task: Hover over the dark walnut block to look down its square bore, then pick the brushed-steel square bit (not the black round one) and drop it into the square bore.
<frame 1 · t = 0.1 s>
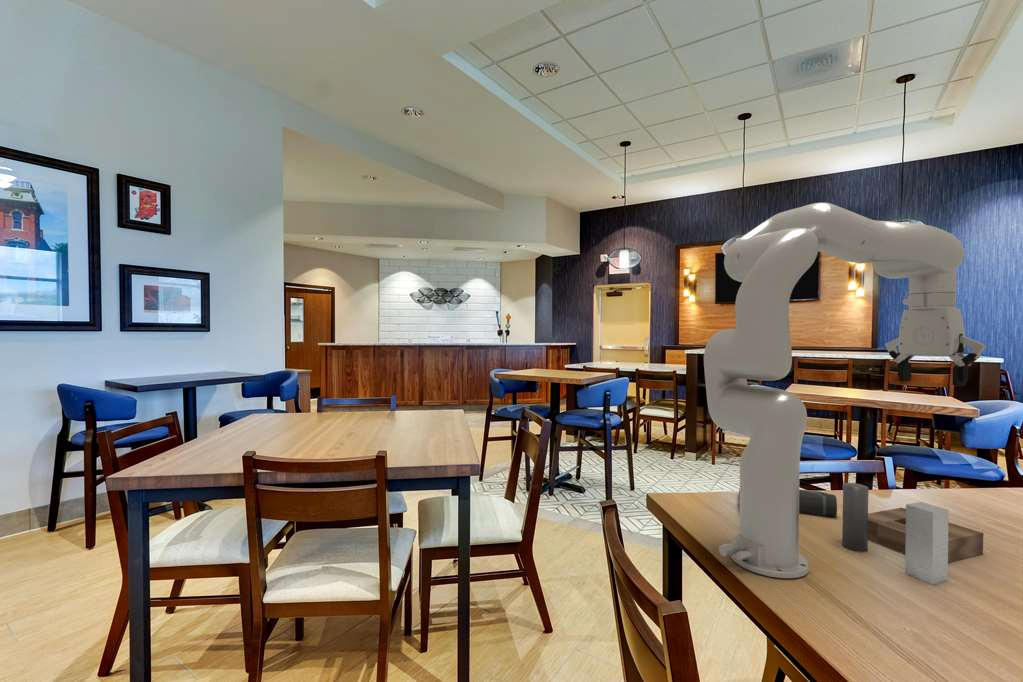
hand: (931, 383, 101), 31 cm above the table, tool pointing down, fingers open, 9 cm apart
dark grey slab: (785, 515, 110), on the table
square bit: (926, 577, 81), on the table
round bit: (854, 547, 92), on the table
bore block: (916, 544, 94), on the table
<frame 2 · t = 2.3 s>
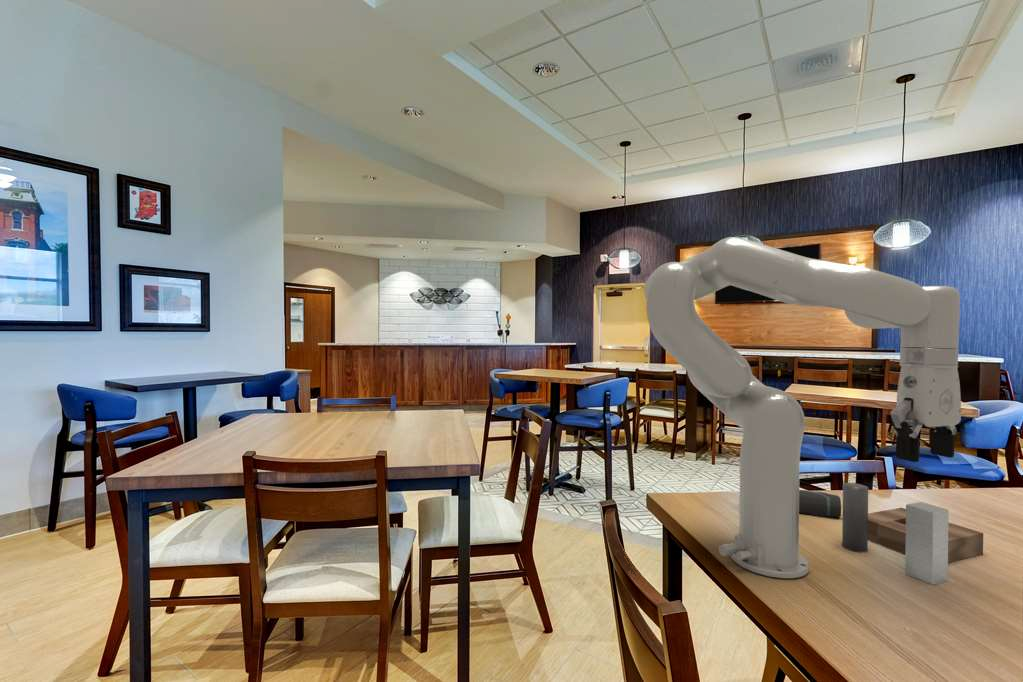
hand: (924, 457, 82), 20 cm above the table, tool pointing down, fingers open, 9 cm apart
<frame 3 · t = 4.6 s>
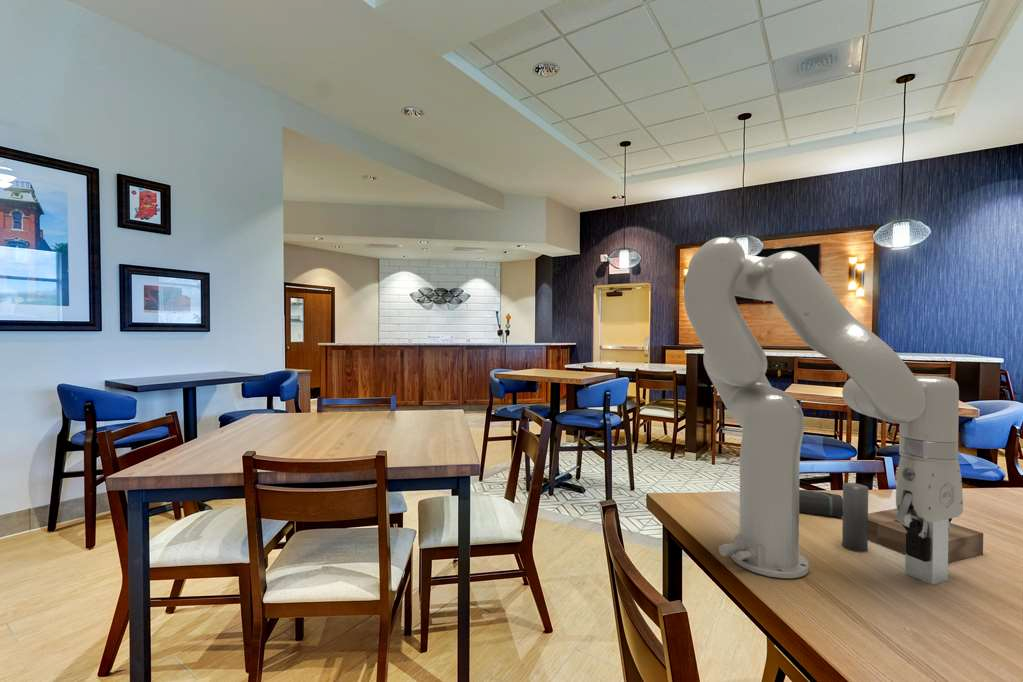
hand: (926, 554, 81), 4 cm above the table, tool pointing down, fingers closed on square bit, 4 cm apart
square bit: (926, 577, 81), on the table, touching gripper
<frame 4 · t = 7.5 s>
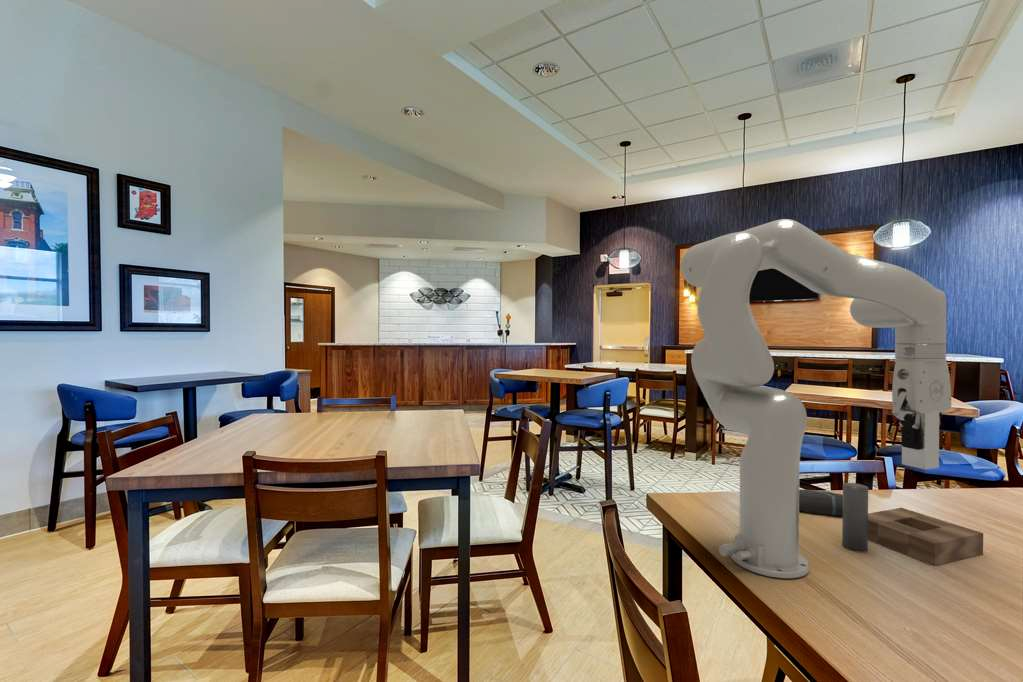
hand: (919, 446, 93), 20 cm above the table, tool pointing down, fingers closed on square bit, 4 cm apart
square bit: (920, 465, 93), point 16 cm above the table, touching gripper
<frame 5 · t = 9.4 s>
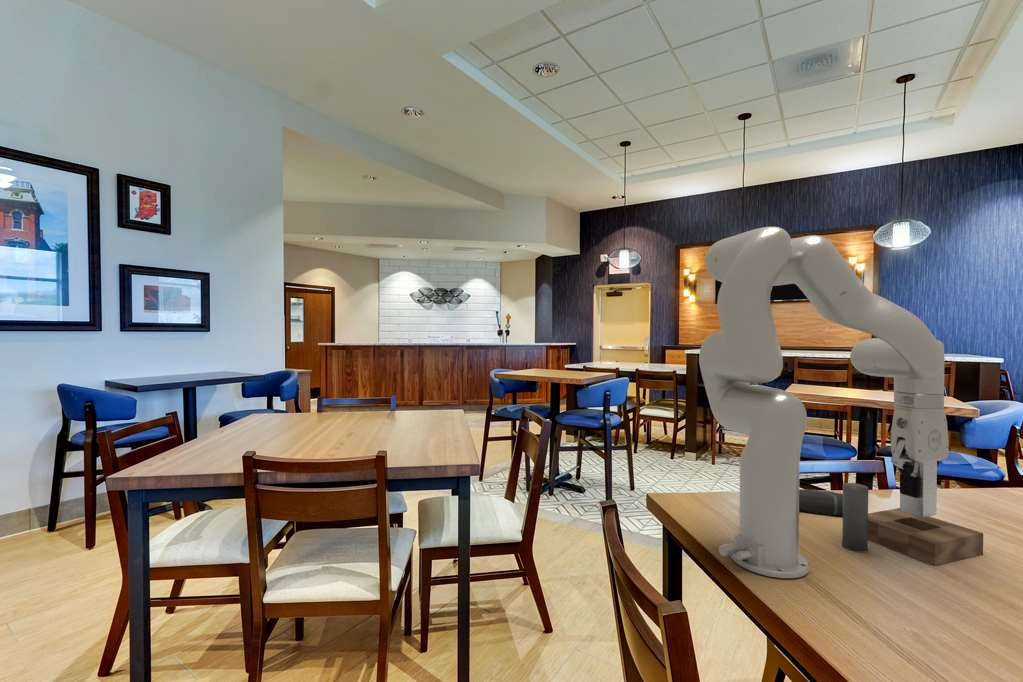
hand: (917, 493, 94), 10 cm above the table, tool pointing down, fingers closed on square bit, 4 cm apart
square bit: (917, 512, 94), point 6 cm above the table, touching gripper
when the fingers open (5 cm above the table, at t = 10.6 s): square bit drops 1 cm, resting in bore block.
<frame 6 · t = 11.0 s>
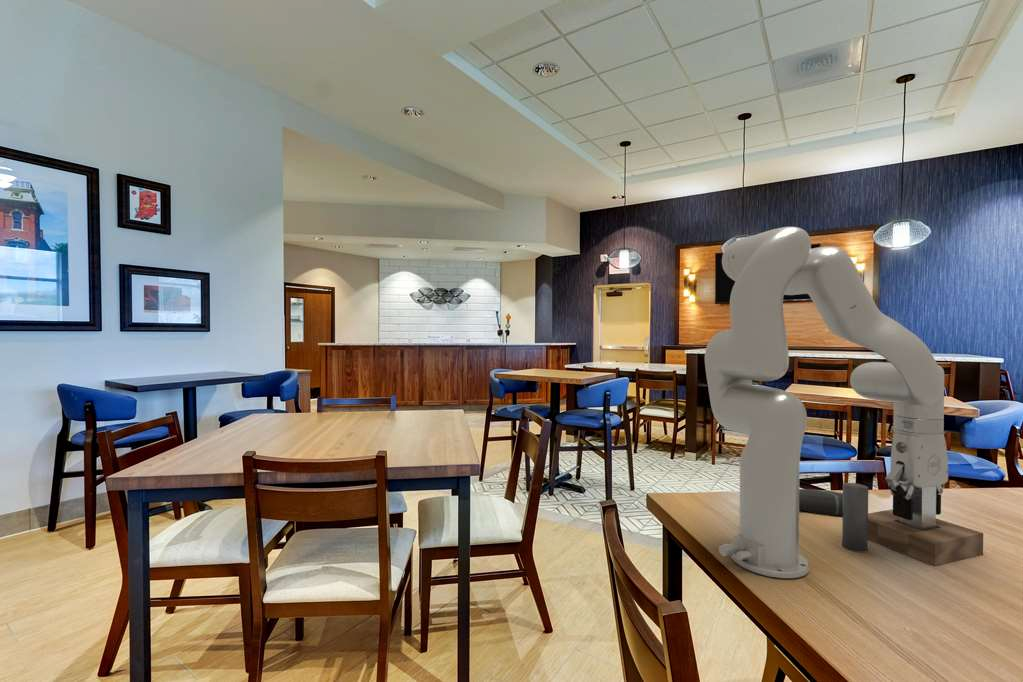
hand: (916, 514, 94), 6 cm above the table, tool pointing down, fingers open, 7 cm apart
square bit: (916, 544, 94), resting in bore block
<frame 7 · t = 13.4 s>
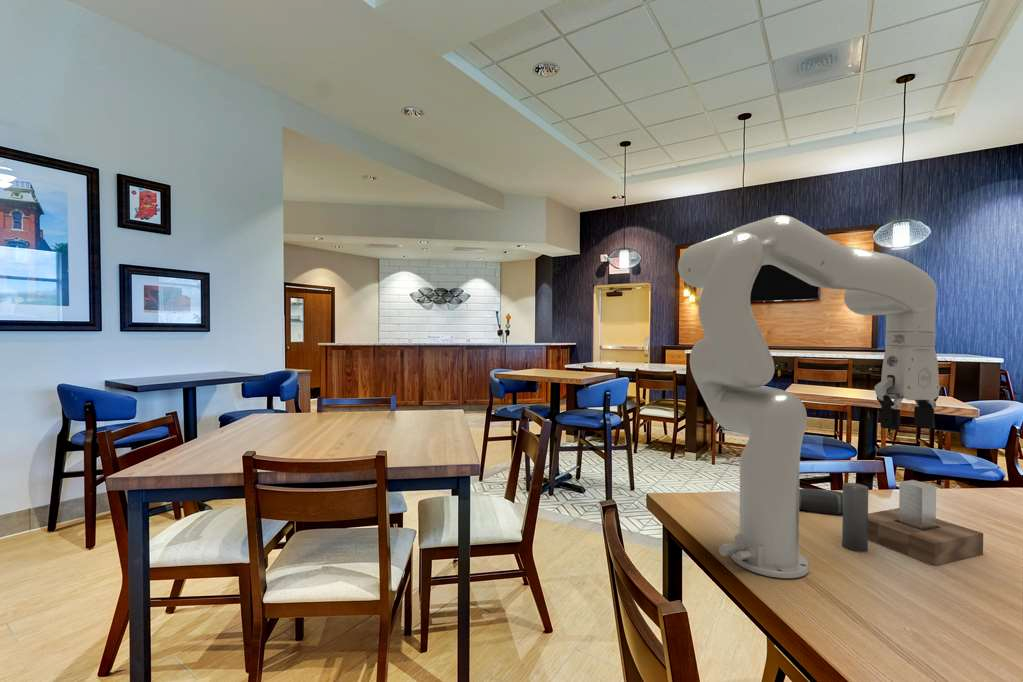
hand: (907, 427, 94), 23 cm above the table, tool pointing down, fingers open, 9 cm apart
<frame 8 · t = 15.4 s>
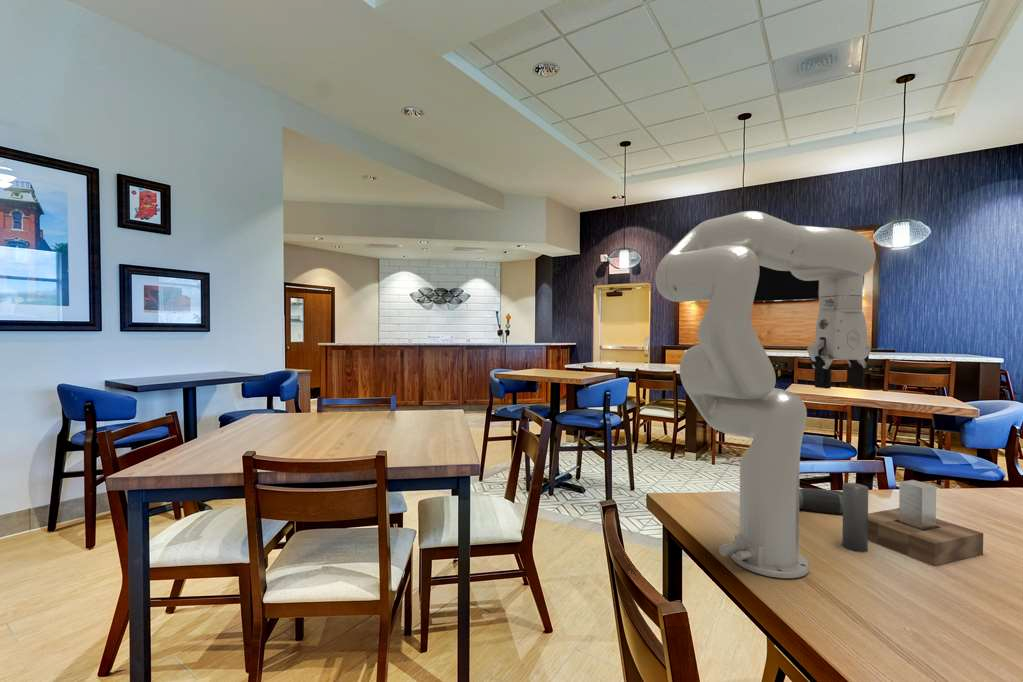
hand: (839, 387, 100), 30 cm above the table, tool pointing down, fingers open, 9 cm apart
at the end: square bit 0.1 cm off-centre on the bore block, point 0.0 cm above the bore block's base; square bit tilted 0°; round bit moved 0.0 cm from its start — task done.
